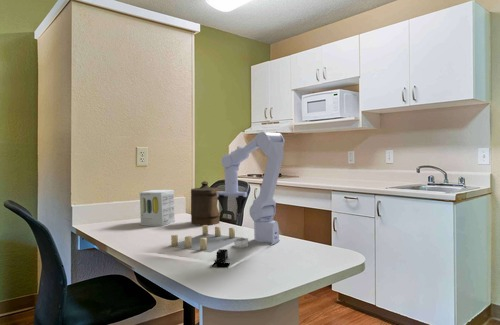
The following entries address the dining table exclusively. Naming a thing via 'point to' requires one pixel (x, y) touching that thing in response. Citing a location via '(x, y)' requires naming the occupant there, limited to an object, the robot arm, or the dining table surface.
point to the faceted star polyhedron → (241, 242)
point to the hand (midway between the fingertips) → (232, 212)
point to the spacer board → (210, 242)
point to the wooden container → (204, 205)
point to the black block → (221, 259)
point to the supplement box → (157, 207)
